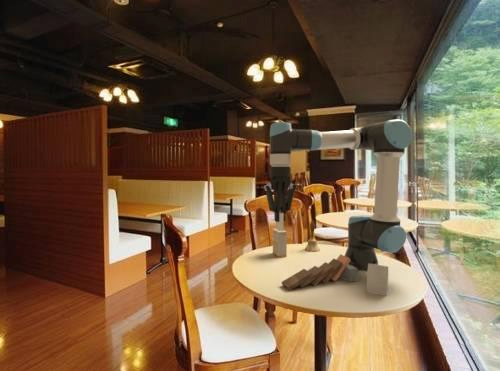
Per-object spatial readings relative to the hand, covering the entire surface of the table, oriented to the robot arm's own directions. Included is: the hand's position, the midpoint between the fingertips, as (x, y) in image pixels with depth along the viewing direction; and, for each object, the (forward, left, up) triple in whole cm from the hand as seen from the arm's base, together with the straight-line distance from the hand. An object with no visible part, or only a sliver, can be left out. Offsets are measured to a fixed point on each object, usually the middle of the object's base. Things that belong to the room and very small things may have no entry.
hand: (279, 230), depth 105 cm
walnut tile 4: (-16, -9, -22) cm, 29 cm away
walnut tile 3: (-12, -7, -22) cm, 26 cm away
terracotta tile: (-20, -12, -22) cm, 32 cm away
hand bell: (-18, -54, -23) cm, 61 cm away
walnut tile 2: (-7, -4, -22) cm, 23 cm away
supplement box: (0, -42, -23) cm, 48 cm away
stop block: (-27, -15, -22) cm, 38 cm away
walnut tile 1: (-2, -1, -22) cm, 22 cm away
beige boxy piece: (-36, -2, -23) cm, 42 cm away
